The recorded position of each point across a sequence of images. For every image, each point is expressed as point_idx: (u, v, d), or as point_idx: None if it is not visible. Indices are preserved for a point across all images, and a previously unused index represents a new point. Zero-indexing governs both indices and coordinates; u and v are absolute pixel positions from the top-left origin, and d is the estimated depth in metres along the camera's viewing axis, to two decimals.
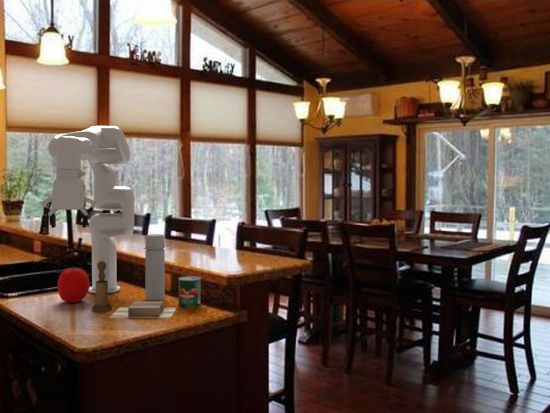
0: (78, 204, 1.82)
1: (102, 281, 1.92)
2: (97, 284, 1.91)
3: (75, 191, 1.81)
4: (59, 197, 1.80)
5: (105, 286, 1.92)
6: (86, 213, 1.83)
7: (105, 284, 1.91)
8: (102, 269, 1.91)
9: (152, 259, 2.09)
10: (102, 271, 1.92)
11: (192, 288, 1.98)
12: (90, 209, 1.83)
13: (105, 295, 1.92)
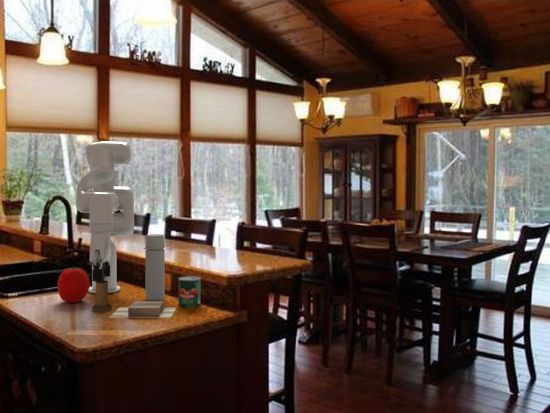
0: (110, 255, 1.95)
1: (102, 281, 1.92)
2: (97, 284, 1.91)
3: (110, 243, 1.94)
4: (106, 251, 1.89)
5: (105, 286, 1.92)
6: (109, 262, 1.97)
7: (105, 284, 1.91)
8: None
9: (152, 259, 2.09)
10: None
11: (192, 288, 1.98)
12: None
13: (105, 295, 1.92)
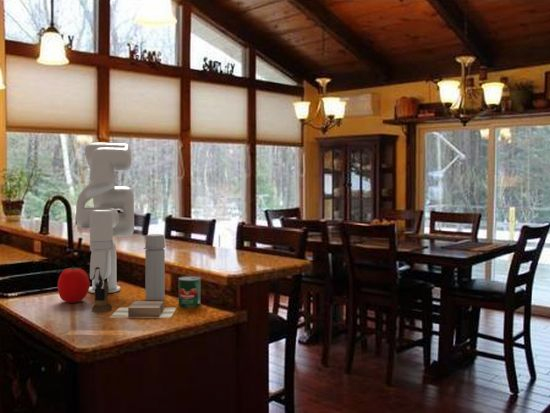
0: (110, 271, 1.96)
1: None
2: None
3: (110, 259, 1.95)
4: (106, 268, 1.90)
5: (105, 286, 1.92)
6: None
7: (105, 284, 1.91)
8: None
9: (152, 259, 2.09)
10: None
11: (192, 288, 1.98)
12: None
13: (105, 295, 1.92)
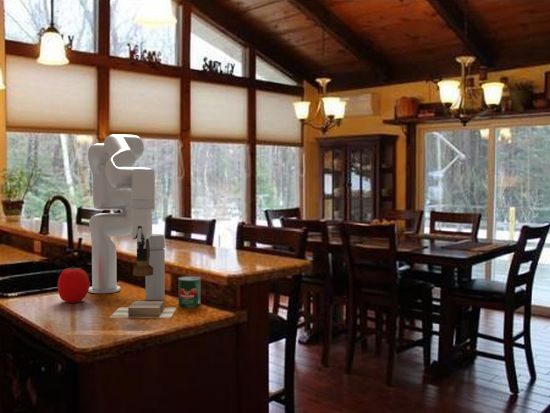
0: (151, 232, 1.92)
1: None
2: None
3: (151, 220, 1.91)
4: (148, 227, 1.86)
5: (147, 246, 1.87)
6: None
7: (147, 244, 1.87)
8: None
9: (152, 259, 2.09)
10: None
11: (192, 288, 1.98)
12: None
13: (147, 255, 1.88)
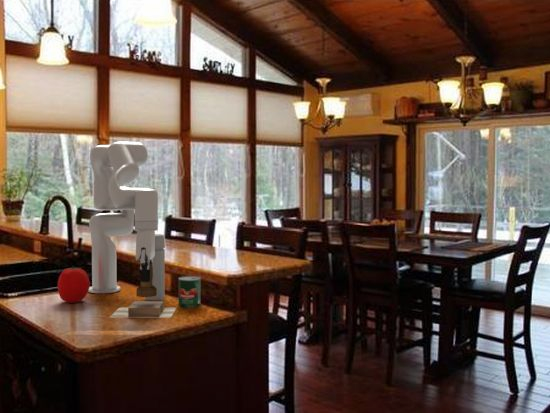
0: (154, 252, 1.92)
1: None
2: None
3: None
4: (152, 248, 1.86)
5: (150, 267, 1.88)
6: None
7: (150, 265, 1.88)
8: None
9: (152, 259, 2.09)
10: None
11: (192, 288, 1.98)
12: None
13: (150, 276, 1.88)
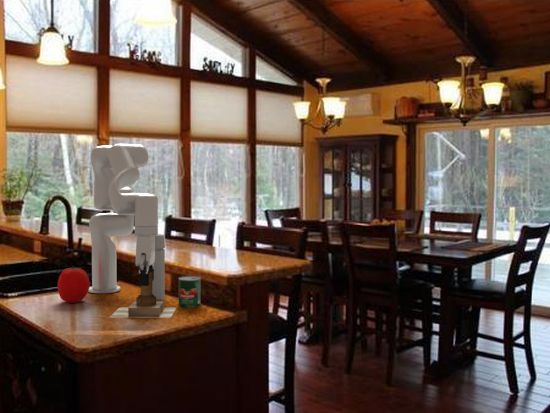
0: (154, 257, 1.92)
1: None
2: None
3: None
4: (152, 254, 1.86)
5: (150, 276, 1.88)
6: (153, 266, 1.94)
7: (150, 274, 1.88)
8: None
9: None
10: None
11: (192, 288, 1.98)
12: None
13: (150, 285, 1.88)
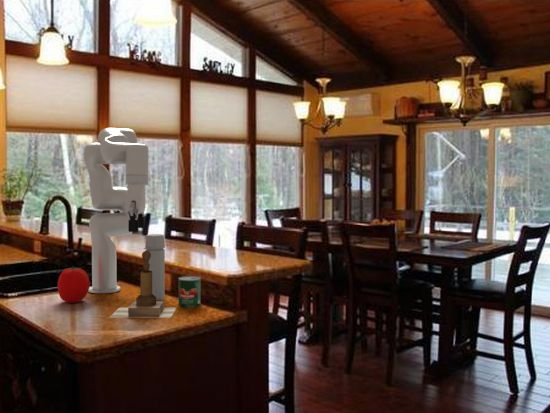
0: (144, 206, 1.97)
1: (147, 271, 1.89)
2: (142, 274, 1.87)
3: None
4: (142, 202, 1.91)
5: (150, 276, 1.88)
6: (143, 214, 1.99)
7: (150, 274, 1.88)
8: (147, 259, 1.88)
9: (152, 259, 2.09)
10: (147, 261, 1.88)
11: (192, 288, 1.98)
12: None
13: (150, 285, 1.88)
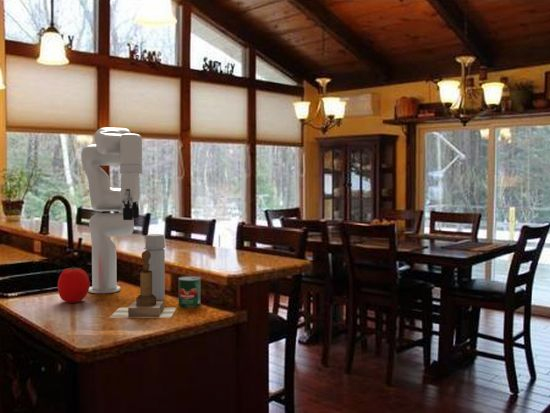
0: (139, 196, 2.00)
1: (147, 271, 1.89)
2: (142, 274, 1.87)
3: (139, 184, 1.98)
4: (136, 190, 1.94)
5: (150, 276, 1.88)
6: (138, 204, 2.02)
7: (150, 274, 1.88)
8: (147, 259, 1.88)
9: (152, 259, 2.09)
10: (147, 261, 1.88)
11: (192, 288, 1.98)
12: None
13: (150, 285, 1.88)
